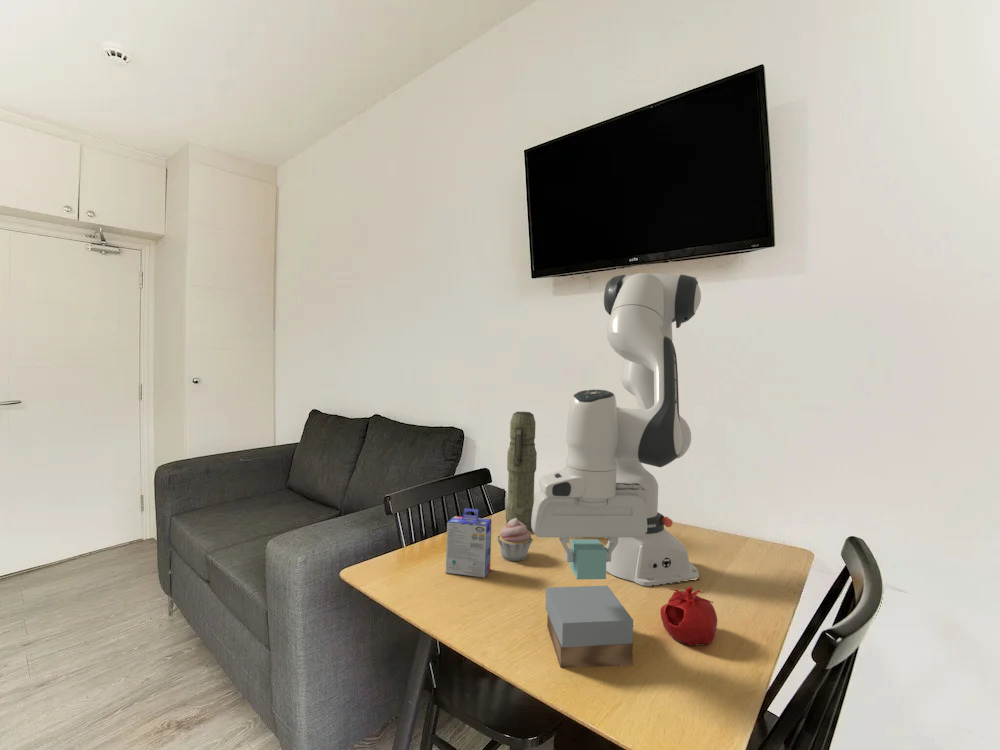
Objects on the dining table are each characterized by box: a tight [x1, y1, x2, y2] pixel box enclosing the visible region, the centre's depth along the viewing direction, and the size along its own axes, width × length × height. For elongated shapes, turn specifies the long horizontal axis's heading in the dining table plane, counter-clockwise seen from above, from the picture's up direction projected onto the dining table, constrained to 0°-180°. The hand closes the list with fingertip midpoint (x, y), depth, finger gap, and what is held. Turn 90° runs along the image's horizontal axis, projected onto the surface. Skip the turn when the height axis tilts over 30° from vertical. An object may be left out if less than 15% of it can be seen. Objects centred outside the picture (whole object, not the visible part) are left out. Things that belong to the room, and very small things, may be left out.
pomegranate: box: [660, 585, 718, 646], centre depth 86 cm, size 10×10×9 cm
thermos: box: [505, 411, 538, 532], centre depth 141 cm, size 9×12×35 cm
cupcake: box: [497, 518, 534, 562], centre depth 119 cm, size 9×9×10 cm
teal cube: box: [569, 538, 607, 580], centre depth 82 cm, size 5×5×5 cm
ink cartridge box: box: [445, 507, 492, 578], centre depth 110 cm, size 10×6×14 cm, turn 79°
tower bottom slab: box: [546, 614, 634, 669], centre depth 82 cm, size 12×12×4 cm
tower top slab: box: [545, 585, 634, 647], centre depth 82 cm, size 12×12×4 cm
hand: (587, 560), depth 82 cm, fingers closed on teal cube, 5 cm apart
